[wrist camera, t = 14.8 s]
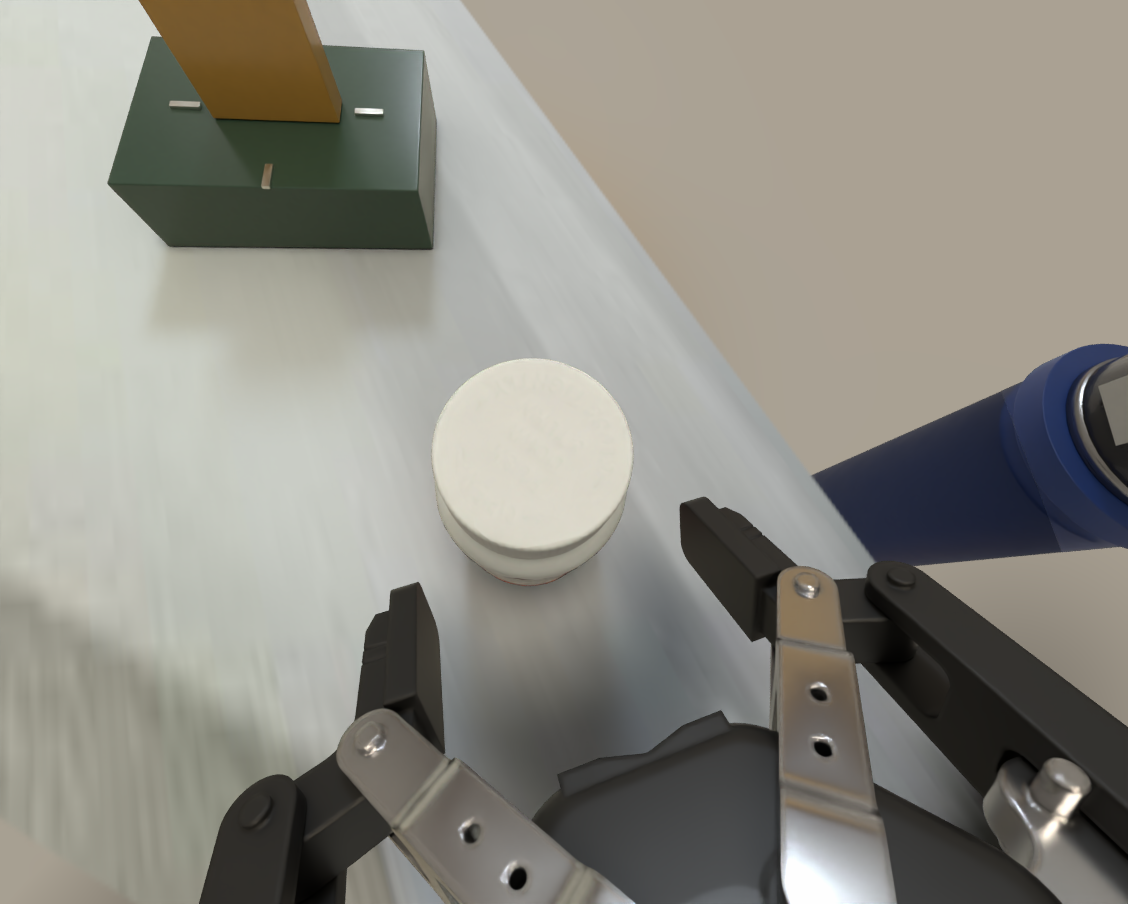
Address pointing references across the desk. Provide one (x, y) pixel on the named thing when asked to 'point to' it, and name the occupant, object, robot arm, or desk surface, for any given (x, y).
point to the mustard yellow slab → (250, 57)
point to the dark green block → (285, 160)
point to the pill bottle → (531, 469)
